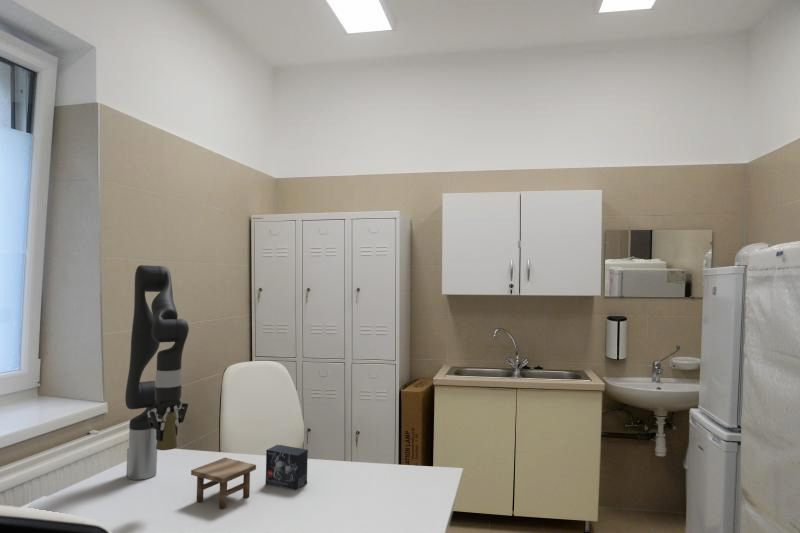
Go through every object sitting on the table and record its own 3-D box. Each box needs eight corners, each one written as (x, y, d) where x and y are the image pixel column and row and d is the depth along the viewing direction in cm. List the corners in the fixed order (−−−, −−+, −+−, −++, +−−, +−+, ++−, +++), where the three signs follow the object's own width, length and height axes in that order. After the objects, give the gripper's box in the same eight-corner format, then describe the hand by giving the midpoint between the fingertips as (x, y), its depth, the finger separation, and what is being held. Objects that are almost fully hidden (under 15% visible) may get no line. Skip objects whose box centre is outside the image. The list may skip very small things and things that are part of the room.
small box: (264, 484, 182) (265, 449, 183) (276, 477, 189) (277, 444, 189) (297, 490, 177) (297, 454, 178) (307, 483, 184) (308, 449, 184)
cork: (169, 451, 159) (170, 414, 159) (151, 449, 160) (152, 412, 160) (181, 444, 165) (182, 409, 165) (164, 443, 166) (165, 408, 166)
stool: (190, 502, 167) (191, 470, 167) (224, 487, 179) (225, 457, 179) (222, 511, 160) (223, 478, 160) (255, 495, 172) (256, 464, 173)
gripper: (179, 379, 171) (177, 432, 171) (139, 386, 159) (137, 444, 158) (195, 381, 167) (194, 436, 167) (156, 389, 155) (154, 448, 155)
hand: (166, 439), depth 163 cm, fingers closed on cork, 4 cm apart
